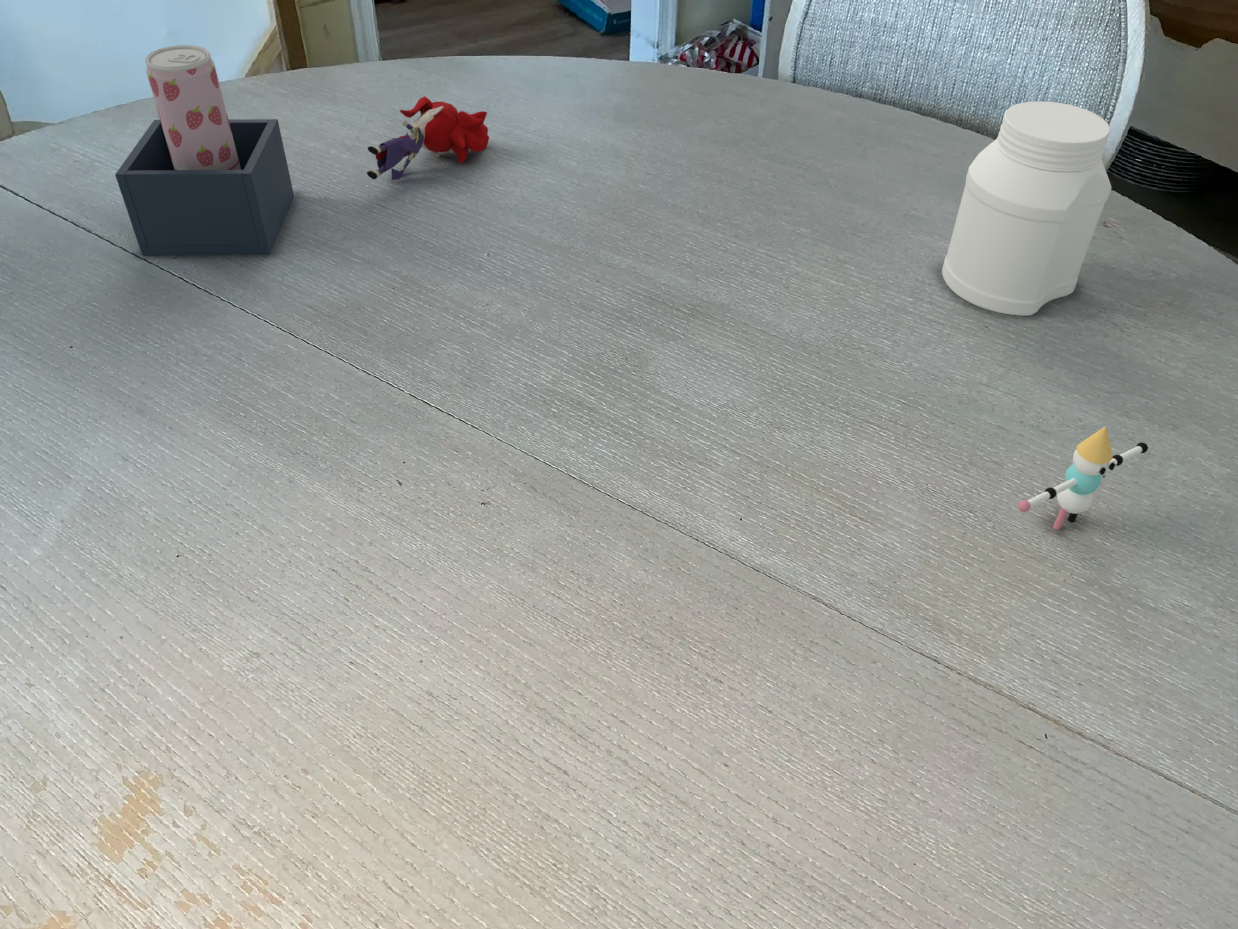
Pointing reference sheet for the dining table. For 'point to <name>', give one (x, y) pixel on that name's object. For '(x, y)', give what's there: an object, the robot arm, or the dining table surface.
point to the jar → (1029, 209)
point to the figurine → (432, 136)
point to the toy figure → (1083, 476)
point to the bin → (208, 195)
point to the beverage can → (191, 108)
